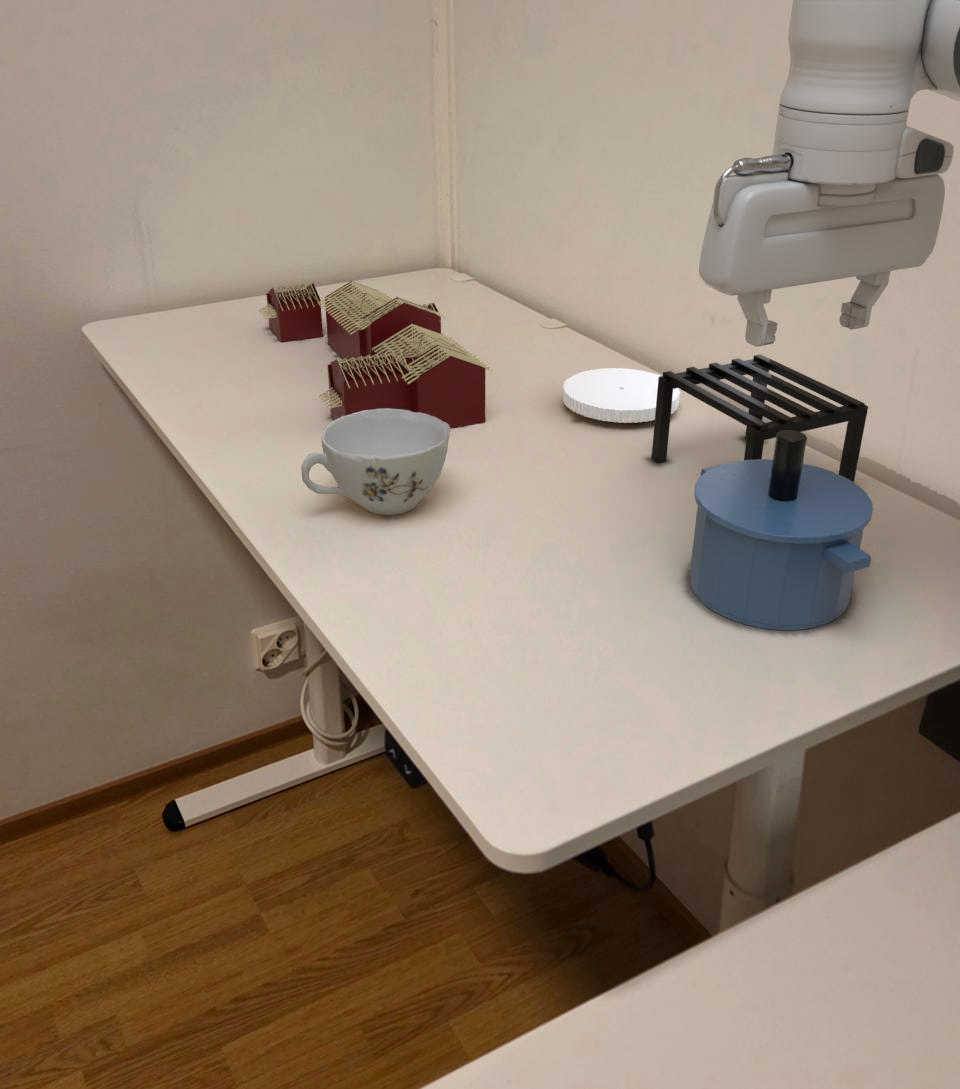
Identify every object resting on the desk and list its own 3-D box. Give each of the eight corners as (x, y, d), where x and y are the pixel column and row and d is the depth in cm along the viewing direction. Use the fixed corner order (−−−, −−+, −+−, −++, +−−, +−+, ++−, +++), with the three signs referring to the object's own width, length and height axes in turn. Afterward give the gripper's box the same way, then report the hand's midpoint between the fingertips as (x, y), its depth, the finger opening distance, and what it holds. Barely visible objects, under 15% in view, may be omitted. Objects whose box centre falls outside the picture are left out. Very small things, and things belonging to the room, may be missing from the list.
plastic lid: (579, 435, 126) (580, 414, 125) (549, 390, 138) (550, 371, 137) (695, 426, 129) (697, 406, 128) (655, 383, 141) (657, 364, 140)
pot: (759, 525, 107) (771, 445, 103) (905, 622, 93) (926, 533, 88) (643, 556, 102) (650, 473, 98) (778, 663, 87) (793, 571, 83)
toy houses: (506, 418, 130) (507, 336, 125) (339, 446, 123) (334, 360, 118) (381, 312, 166) (379, 244, 161) (247, 329, 159) (239, 259, 154)
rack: (752, 436, 126) (764, 353, 121) (852, 493, 114) (869, 402, 109) (651, 459, 121) (658, 372, 116) (743, 521, 108) (756, 426, 103)
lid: (790, 459, 102) (801, 391, 99) (909, 526, 91) (925, 452, 87) (659, 490, 96) (666, 419, 93) (768, 566, 85) (780, 488, 82)
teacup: (423, 467, 119) (421, 397, 115) (471, 517, 109) (471, 442, 105) (287, 493, 113) (280, 421, 109) (324, 547, 103) (318, 470, 99)
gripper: (749, 168, 73) (725, 367, 79) (971, 146, 81) (932, 328, 87) (691, 152, 78) (673, 341, 84) (907, 133, 86) (874, 307, 92)
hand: (807, 335), depth 86 cm, fingers open, 8 cm apart
